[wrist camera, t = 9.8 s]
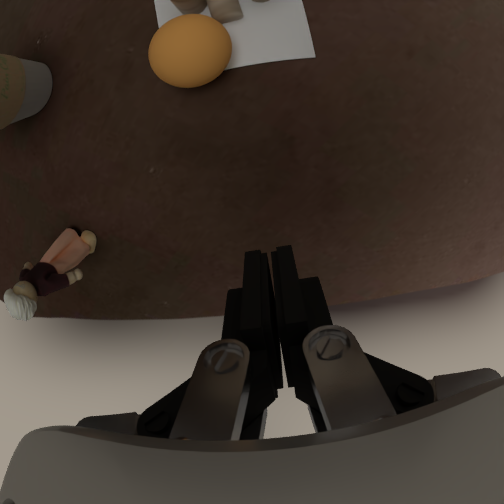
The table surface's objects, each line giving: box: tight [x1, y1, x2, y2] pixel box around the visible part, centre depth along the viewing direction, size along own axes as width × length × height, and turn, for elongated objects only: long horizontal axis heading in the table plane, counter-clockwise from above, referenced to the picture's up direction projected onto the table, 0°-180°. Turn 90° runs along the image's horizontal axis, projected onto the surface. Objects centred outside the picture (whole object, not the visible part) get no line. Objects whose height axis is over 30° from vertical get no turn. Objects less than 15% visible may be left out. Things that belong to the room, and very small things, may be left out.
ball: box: [149, 14, 232, 88], centre depth 16 cm, size 6×6×6 cm
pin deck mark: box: [154, 0, 315, 70], centre depth 17 cm, size 12×10×1 cm
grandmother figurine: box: [4, 228, 96, 321], centre depth 21 cm, size 8×4×13 cm, turn 96°
